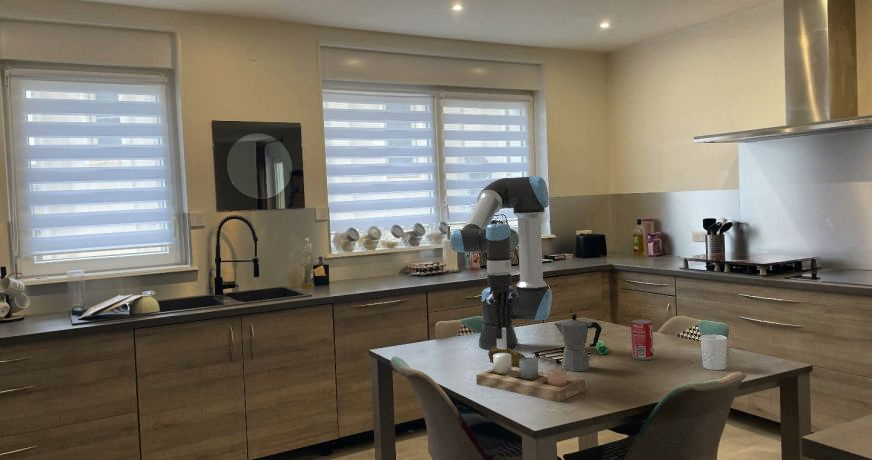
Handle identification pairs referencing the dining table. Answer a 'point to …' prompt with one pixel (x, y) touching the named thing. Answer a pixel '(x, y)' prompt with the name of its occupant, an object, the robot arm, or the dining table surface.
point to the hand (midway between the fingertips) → (501, 348)
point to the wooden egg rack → (530, 384)
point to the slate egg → (528, 367)
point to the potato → (514, 355)
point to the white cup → (714, 351)
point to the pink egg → (557, 377)
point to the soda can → (642, 339)
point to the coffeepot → (576, 343)
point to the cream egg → (502, 363)
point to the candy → (601, 347)
